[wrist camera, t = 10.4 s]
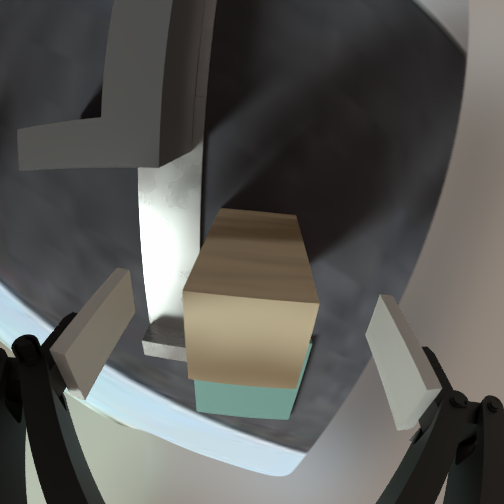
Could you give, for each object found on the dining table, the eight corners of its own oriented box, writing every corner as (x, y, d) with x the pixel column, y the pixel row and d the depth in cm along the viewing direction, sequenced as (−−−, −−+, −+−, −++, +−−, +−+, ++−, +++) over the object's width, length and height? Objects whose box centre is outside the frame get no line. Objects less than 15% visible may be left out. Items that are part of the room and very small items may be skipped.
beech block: (220, 207, 20) (182, 290, 11) (295, 215, 20) (319, 303, 11) (217, 273, 22) (188, 378, 13) (286, 280, 22) (295, 388, 13)
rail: (172, -80, 10) (163, -95, 7) (232, -85, 10) (228, -102, 7) (153, 335, 25) (144, 354, 23) (201, 342, 25) (195, 363, 23)
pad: (192, 327, 24) (191, 332, 24) (311, 338, 24) (312, 343, 24) (197, 407, 29) (196, 411, 29) (288, 415, 29) (288, 419, 29)
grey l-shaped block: (98, -39, 11) (56, -66, 5) (215, -60, 11) (198, -106, 5) (74, 152, 18) (19, 171, 12) (191, 151, 18) (159, 168, 12)
